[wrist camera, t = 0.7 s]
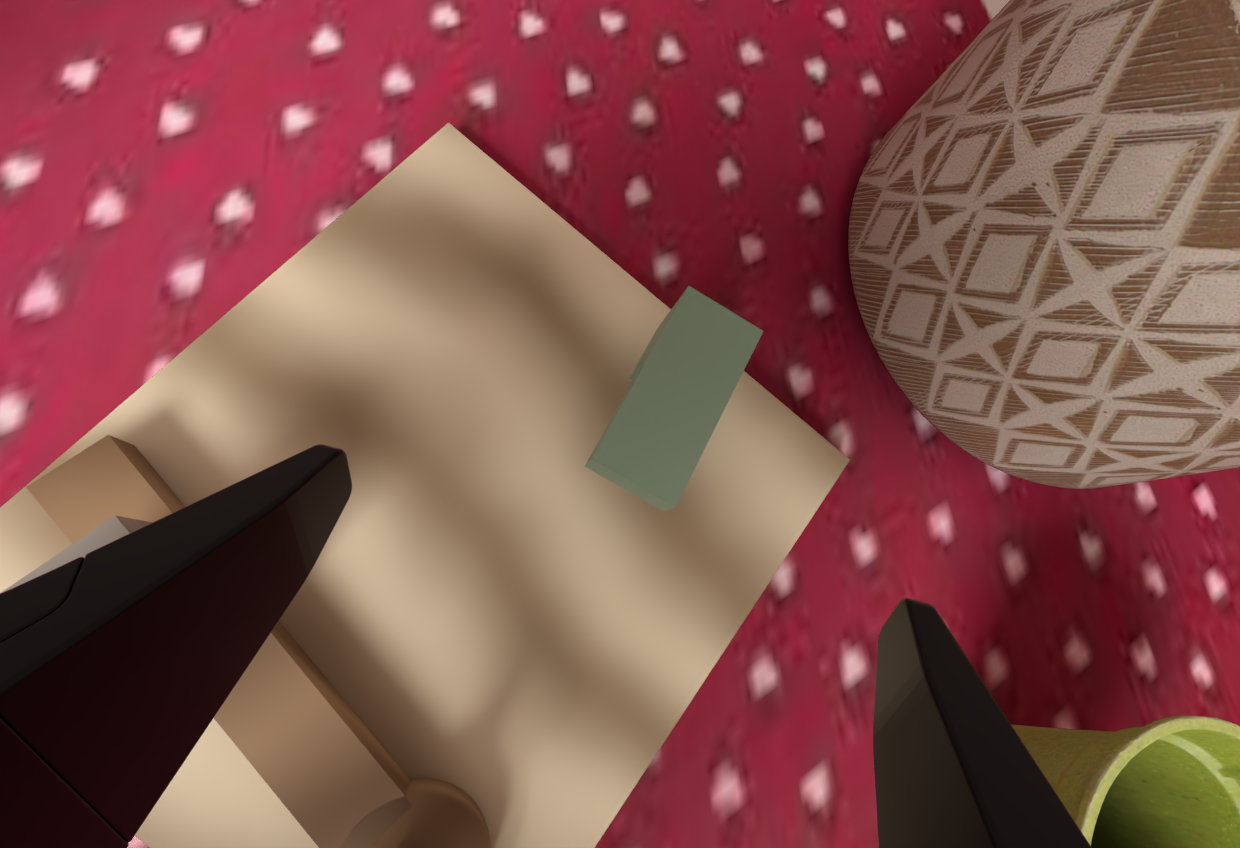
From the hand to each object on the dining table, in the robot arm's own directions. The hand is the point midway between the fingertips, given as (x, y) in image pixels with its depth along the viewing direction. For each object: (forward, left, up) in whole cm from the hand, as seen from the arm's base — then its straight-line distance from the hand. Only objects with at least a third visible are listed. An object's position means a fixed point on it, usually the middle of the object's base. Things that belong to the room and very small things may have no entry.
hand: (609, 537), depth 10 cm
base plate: (-1, +3, -14) cm, 15 cm away
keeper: (+7, 0, -14) cm, 16 cm away
